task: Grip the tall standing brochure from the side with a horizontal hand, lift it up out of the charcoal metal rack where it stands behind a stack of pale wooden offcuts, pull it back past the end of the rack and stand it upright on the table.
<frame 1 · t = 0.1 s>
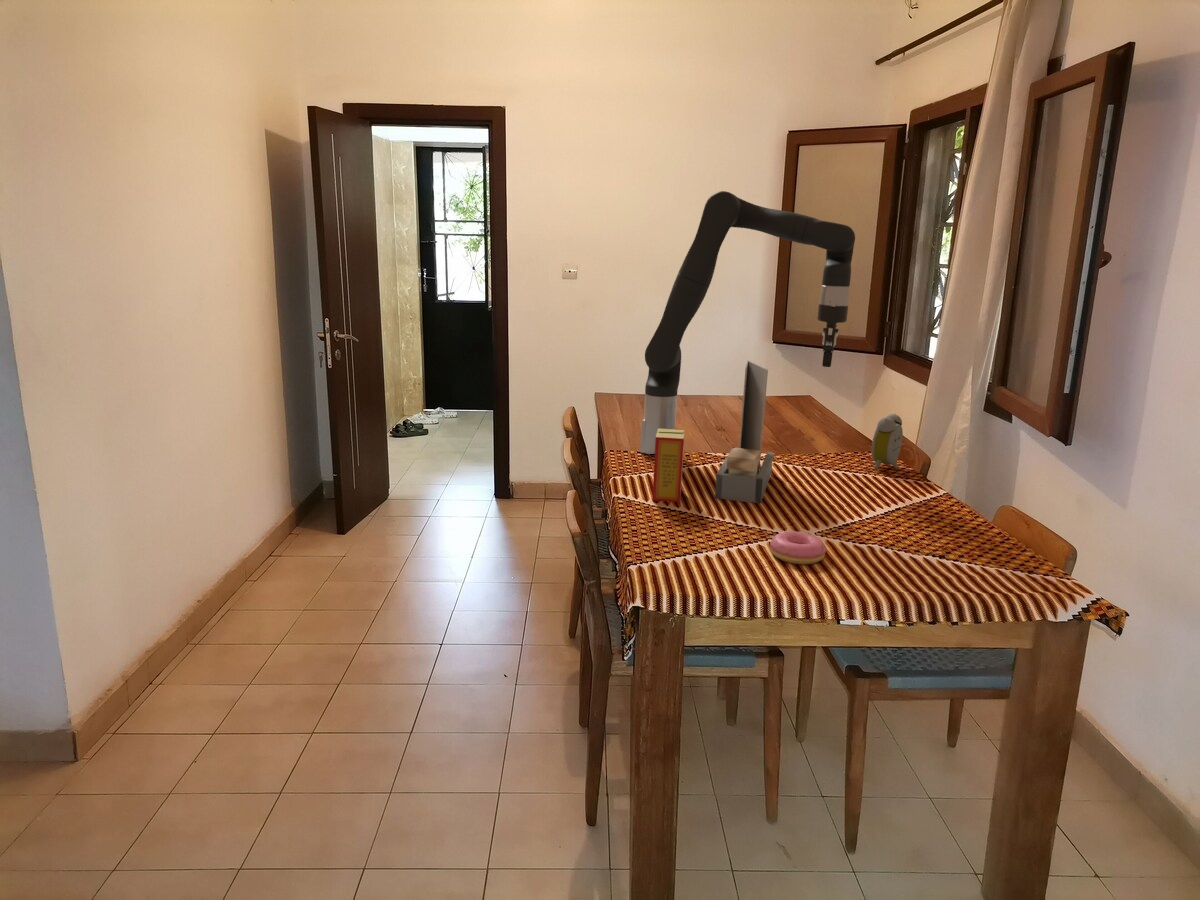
hand: (826, 364, 219), 29 cm above the table, tool pointing down, fingers open, 8 cm apart
baking soda box: (666, 496, 199), on the table
alarm clock: (886, 469, 230), on the table
offcut stack: (741, 492, 203), resting in rack
doughnut: (796, 557, 164), on the table
brochure: (747, 478, 216), resting in rack
rack: (744, 485, 209), on the table
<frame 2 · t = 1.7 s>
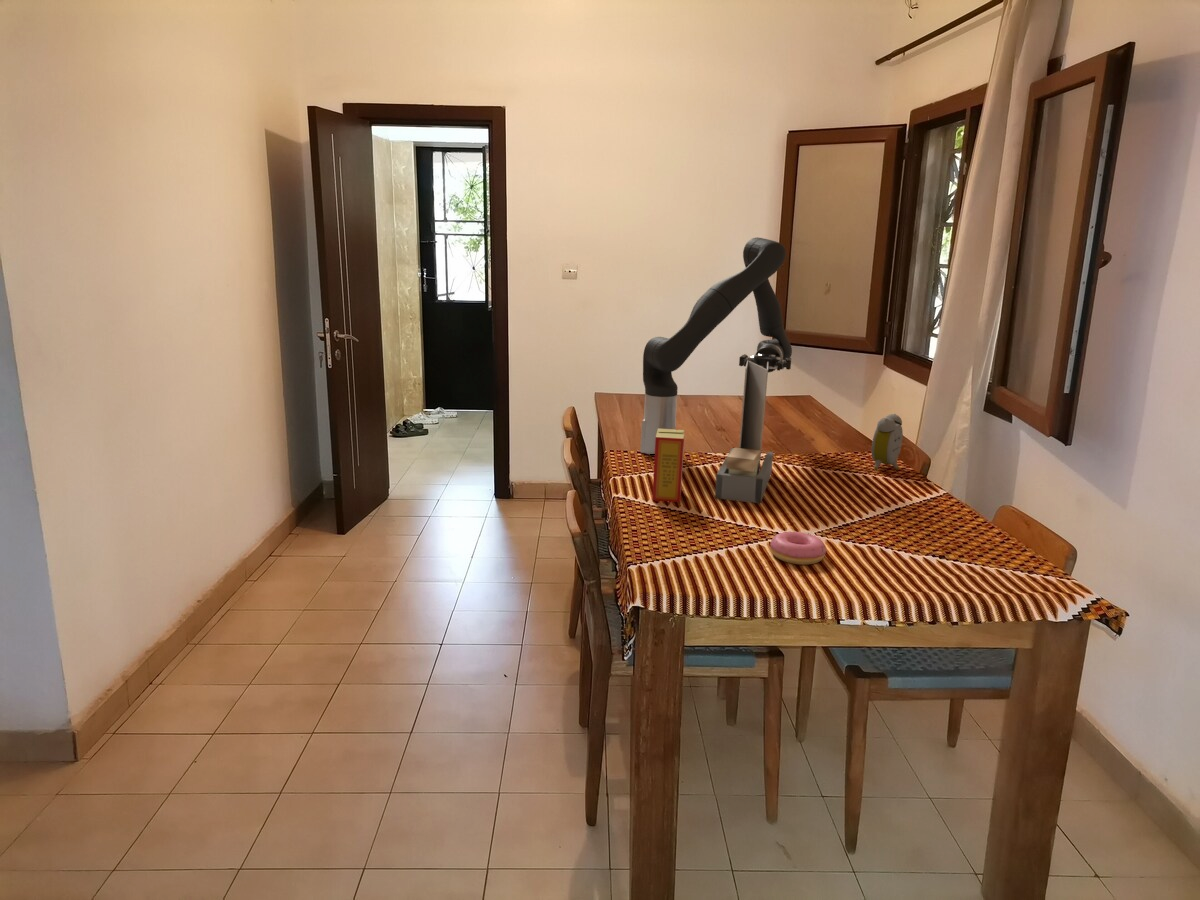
hand: (762, 365, 224), 28 cm above the table, tool horizontal, fingers open, 8 cm apart
nothing on the table moved.
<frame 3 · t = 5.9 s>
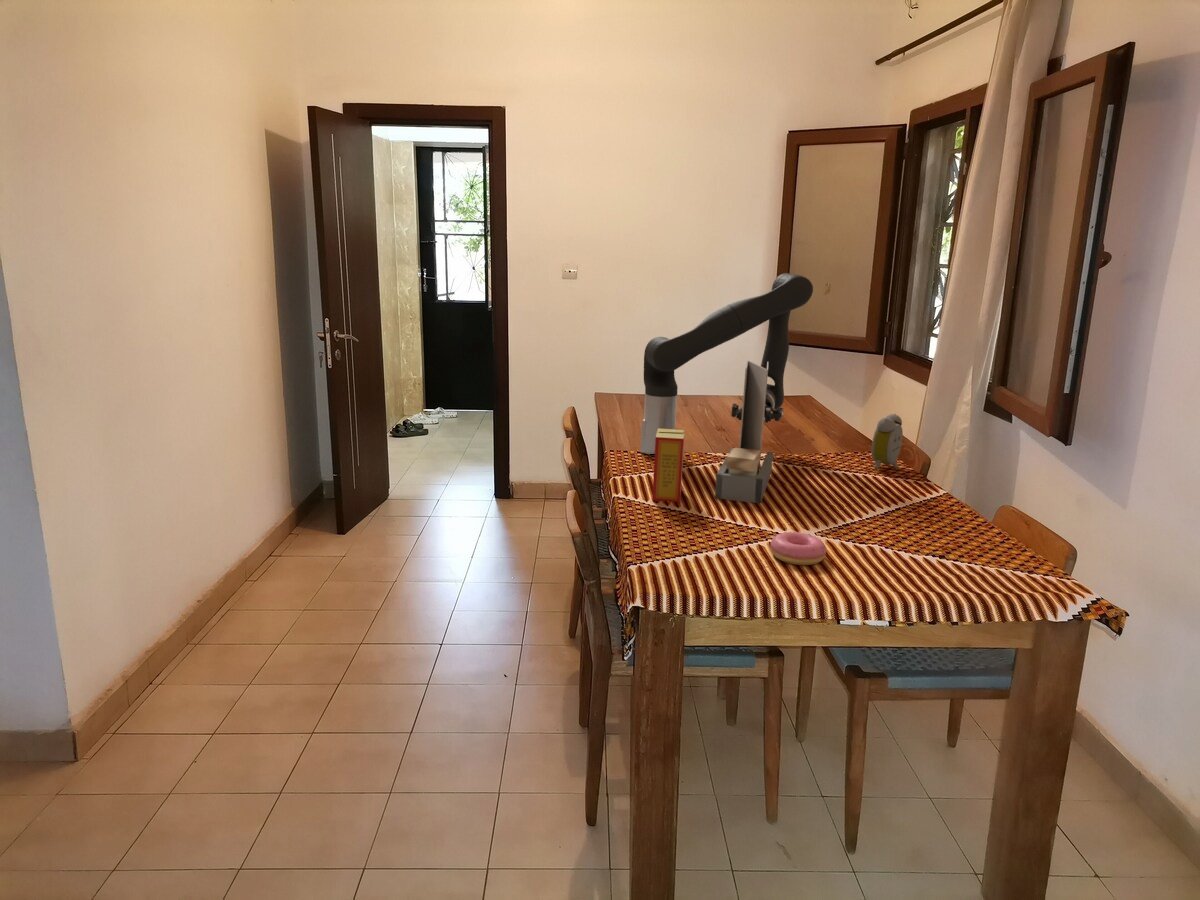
hand: (753, 417, 213), 16 cm above the table, tool horizontal, fingers open, 6 cm apart
brochure: (747, 478, 216), resting in rack, touching gripper
everything else where it was.
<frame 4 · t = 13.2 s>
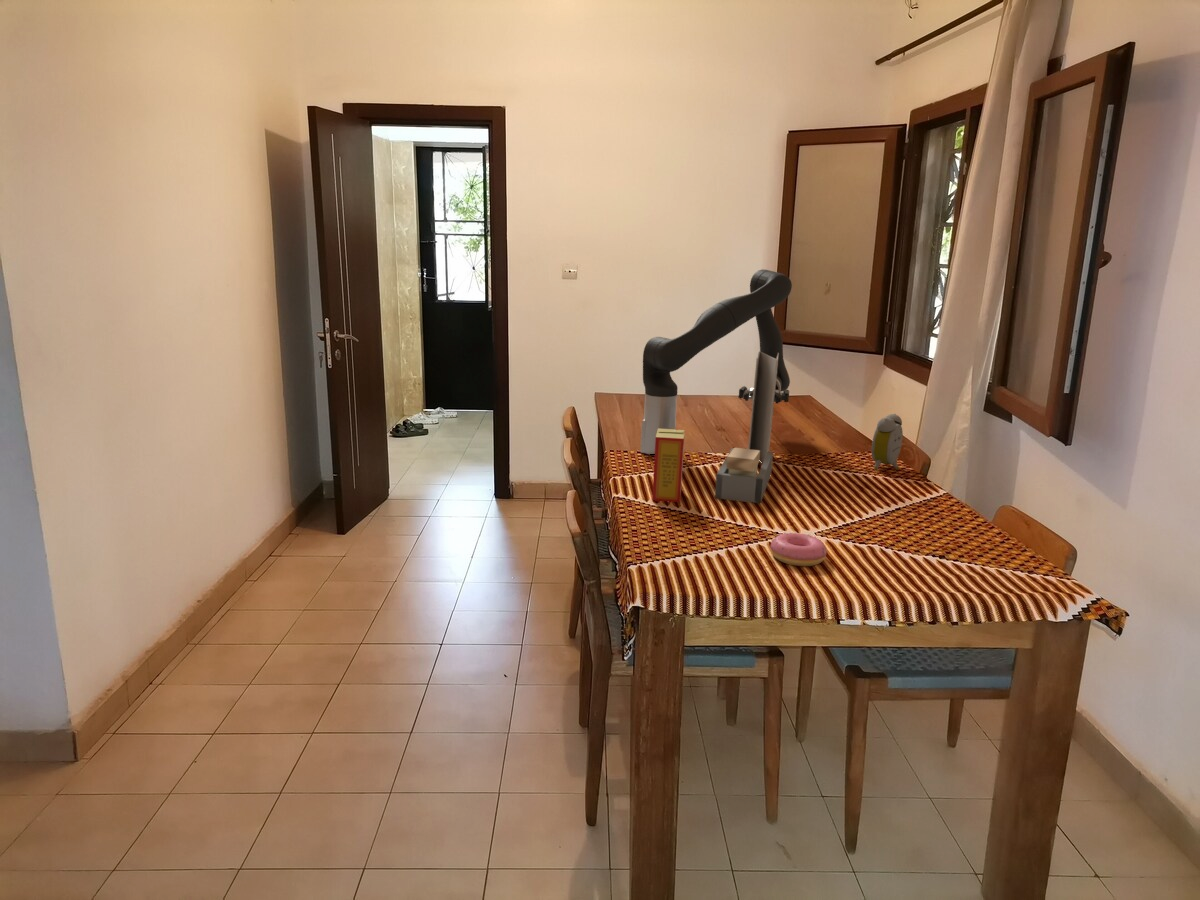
hand: (761, 398, 231), 17 cm above the table, tool horizontal, fingers open, 8 cm apart
brochure: (757, 460, 234), on the table
everything else where it was.
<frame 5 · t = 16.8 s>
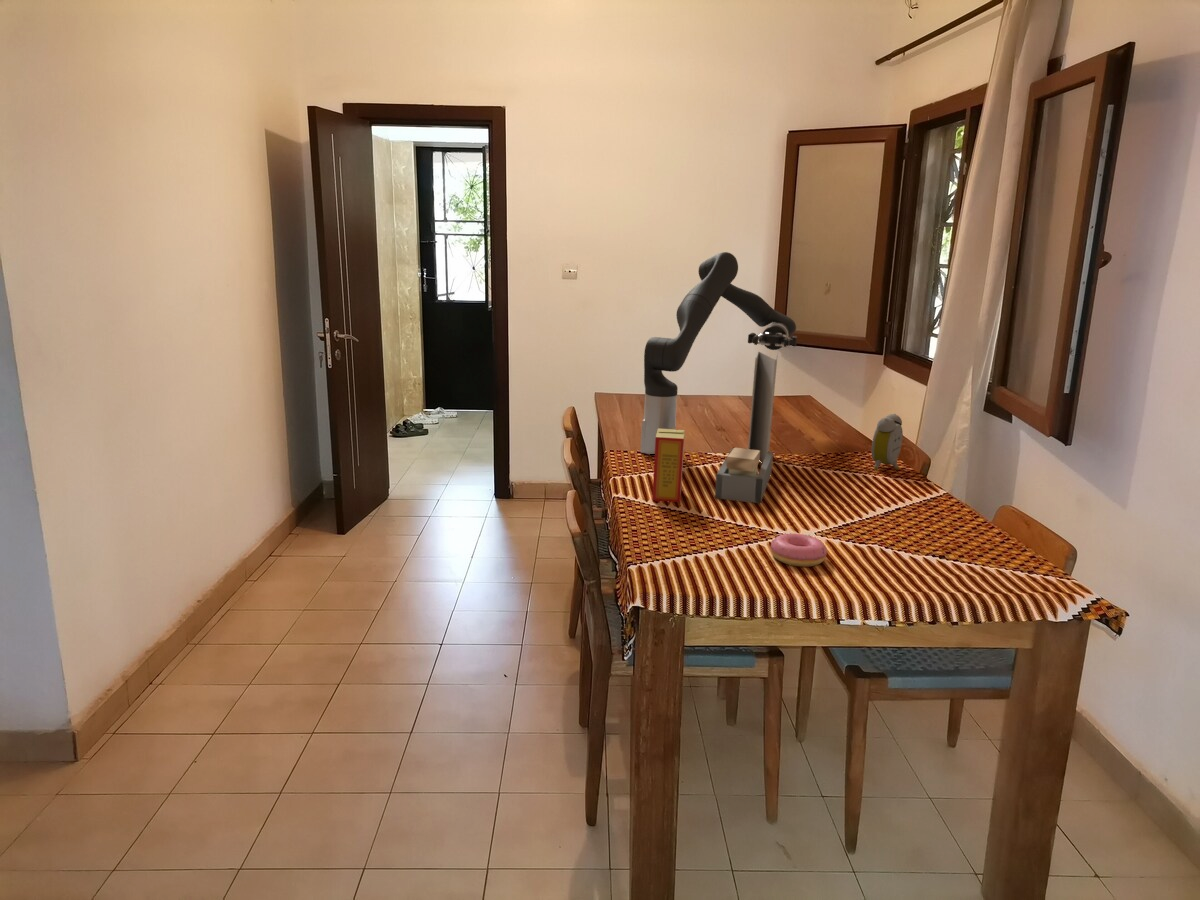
hand: (770, 342, 239), 32 cm above the table, tool horizontal, fingers open, 8 cm apart
at the end: brochure inside the target area (0.5 cm from its centre), on the table; brochure tilted 0°; the gripper is holding nothing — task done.
